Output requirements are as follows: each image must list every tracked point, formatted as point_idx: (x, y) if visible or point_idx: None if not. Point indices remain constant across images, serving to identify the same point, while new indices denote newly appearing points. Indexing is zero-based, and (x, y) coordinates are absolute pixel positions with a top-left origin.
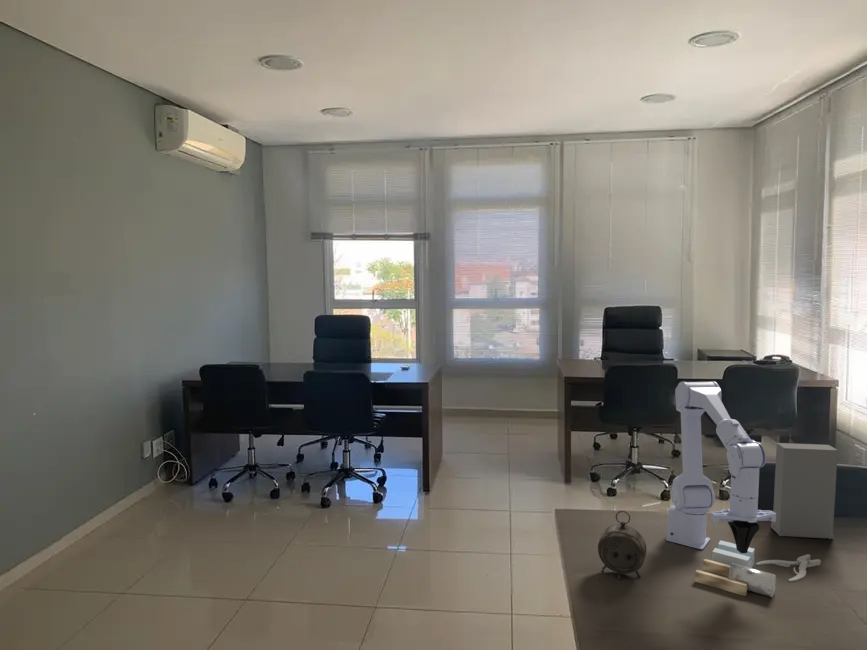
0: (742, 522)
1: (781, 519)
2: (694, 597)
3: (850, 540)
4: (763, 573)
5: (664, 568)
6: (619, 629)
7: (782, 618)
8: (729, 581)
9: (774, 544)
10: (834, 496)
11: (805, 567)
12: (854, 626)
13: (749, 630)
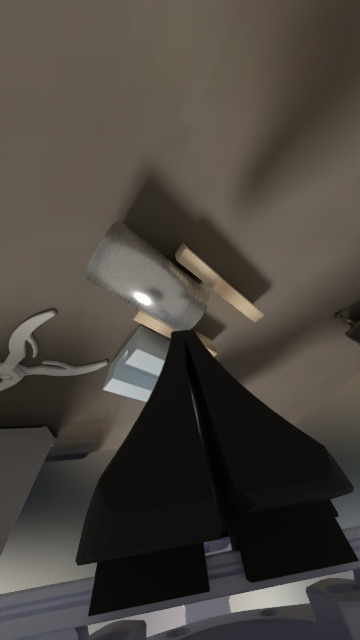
0: (254, 546)
1: (28, 458)
2: (302, 237)
3: None
4: (125, 273)
5: (271, 341)
6: None
7: (126, 70)
8: (215, 274)
9: (59, 410)
10: None
11: (7, 357)
12: None
13: None
